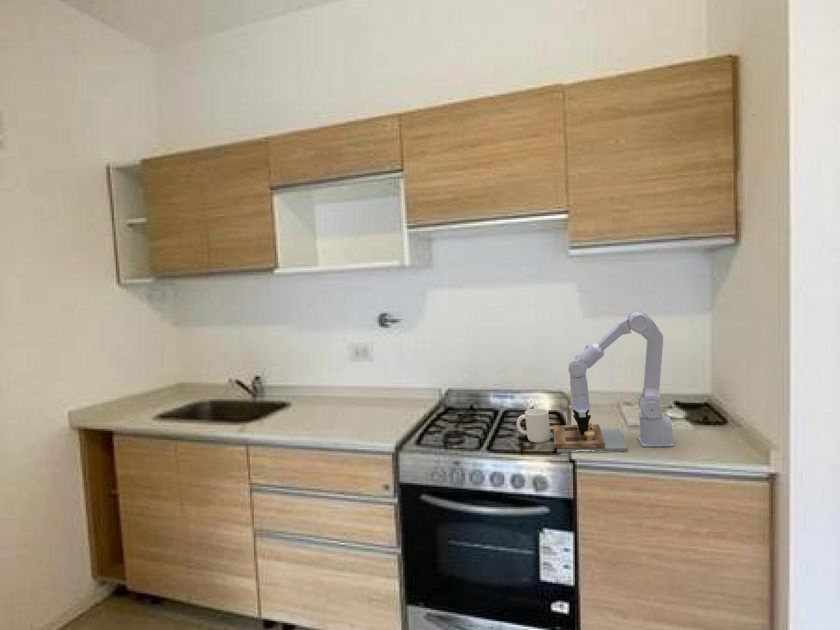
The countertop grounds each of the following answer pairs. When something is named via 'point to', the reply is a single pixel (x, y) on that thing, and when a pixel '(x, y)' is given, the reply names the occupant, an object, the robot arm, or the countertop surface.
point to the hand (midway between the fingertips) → (583, 431)
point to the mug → (536, 425)
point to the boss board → (611, 440)
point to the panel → (577, 437)
